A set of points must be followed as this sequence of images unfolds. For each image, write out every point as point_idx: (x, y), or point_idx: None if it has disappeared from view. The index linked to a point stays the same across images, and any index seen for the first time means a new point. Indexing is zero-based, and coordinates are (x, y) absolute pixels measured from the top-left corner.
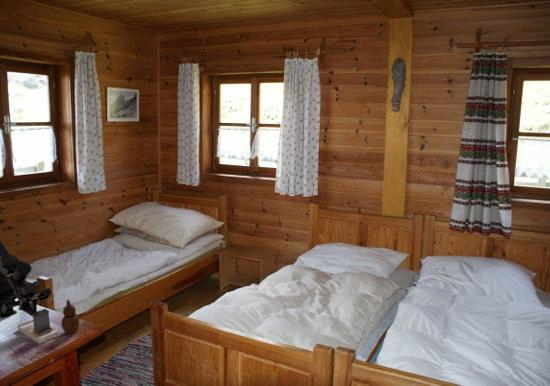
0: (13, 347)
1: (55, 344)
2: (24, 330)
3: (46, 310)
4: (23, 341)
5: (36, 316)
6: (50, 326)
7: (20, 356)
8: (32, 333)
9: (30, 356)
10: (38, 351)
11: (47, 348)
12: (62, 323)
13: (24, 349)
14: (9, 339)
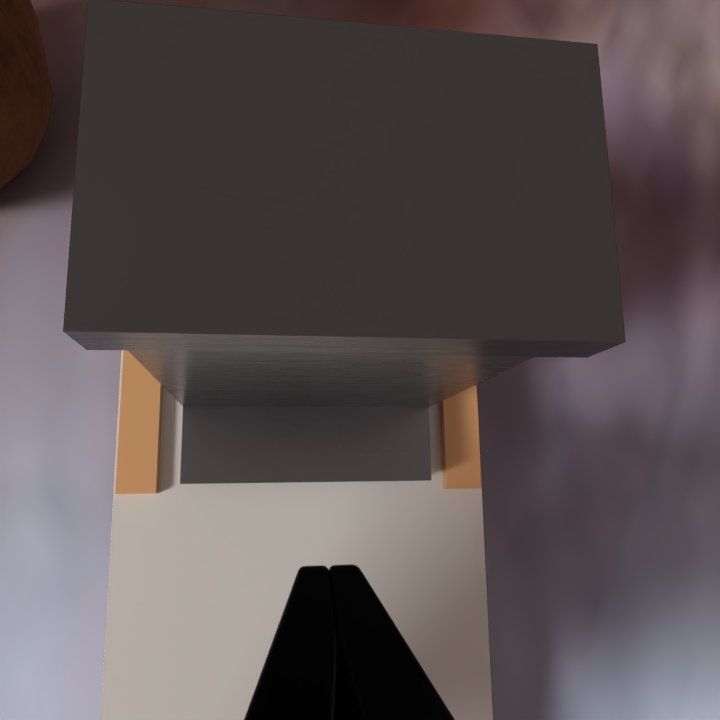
0: (707, 390)
1: (315, 8)
2: (488, 670)
3: (123, 120)
4: (559, 445)
5: (562, 61)
6: (126, 388)
7: (714, 109)
8: (463, 394)
9: (637, 16)
10: (532, 36)
11: (429, 8)
12: (16, 6)
13: (628, 221)
14: (675, 688)
